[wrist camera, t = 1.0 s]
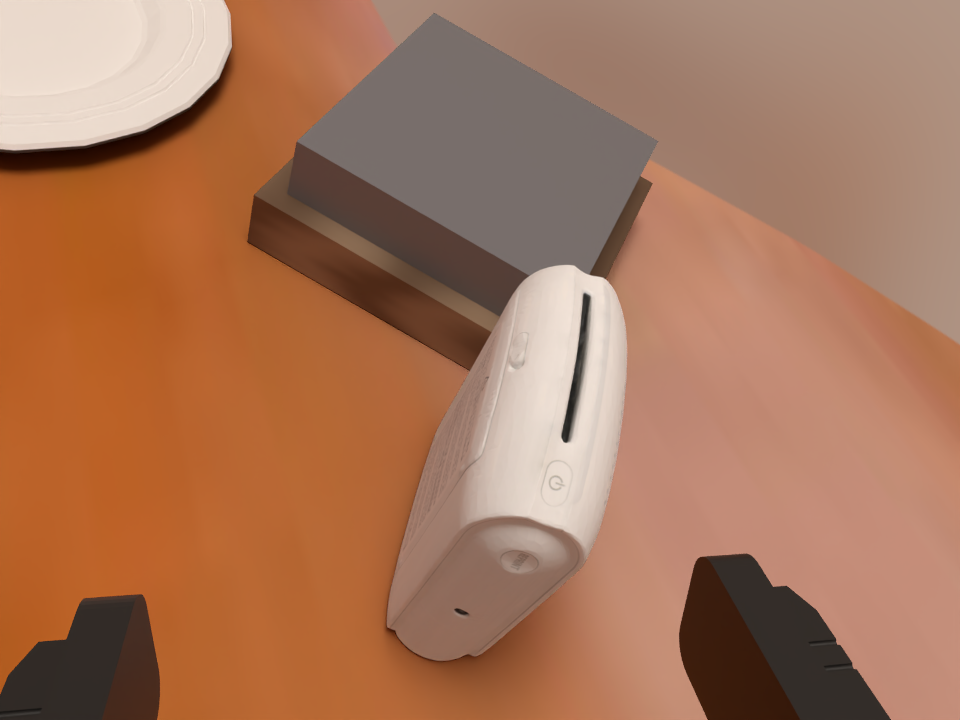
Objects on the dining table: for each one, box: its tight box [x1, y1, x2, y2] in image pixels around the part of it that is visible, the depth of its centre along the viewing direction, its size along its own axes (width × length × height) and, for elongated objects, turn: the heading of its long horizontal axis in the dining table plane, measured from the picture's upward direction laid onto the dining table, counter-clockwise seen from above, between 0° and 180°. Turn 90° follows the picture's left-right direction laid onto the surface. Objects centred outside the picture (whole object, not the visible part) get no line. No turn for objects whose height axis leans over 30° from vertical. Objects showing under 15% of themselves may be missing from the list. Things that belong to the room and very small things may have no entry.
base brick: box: [247, 157, 653, 370], centre depth 41 cm, size 15×15×3 cm
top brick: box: [287, 13, 658, 317], centre depth 39 cm, size 13×13×3 cm
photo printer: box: [387, 265, 627, 661], centre depth 28 cm, size 10×4×12 cm, turn 168°
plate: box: [0, 0, 232, 153], centre depth 40 cm, size 21×21×2 cm
